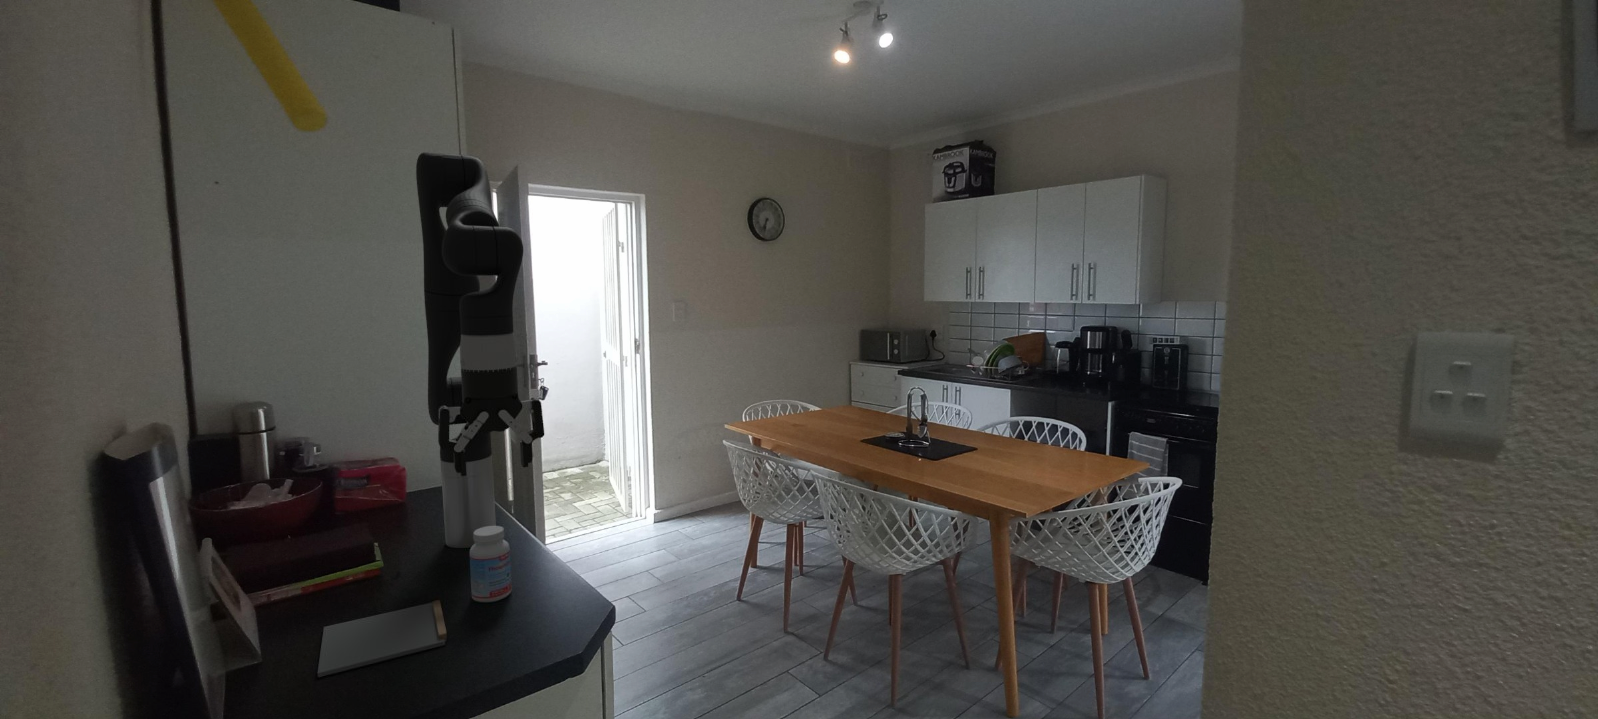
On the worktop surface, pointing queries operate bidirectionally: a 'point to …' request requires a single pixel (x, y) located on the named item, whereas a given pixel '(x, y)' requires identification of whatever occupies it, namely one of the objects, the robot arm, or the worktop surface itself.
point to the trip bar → (439, 620)
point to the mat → (378, 639)
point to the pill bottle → (490, 565)
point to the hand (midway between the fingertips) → (494, 470)
